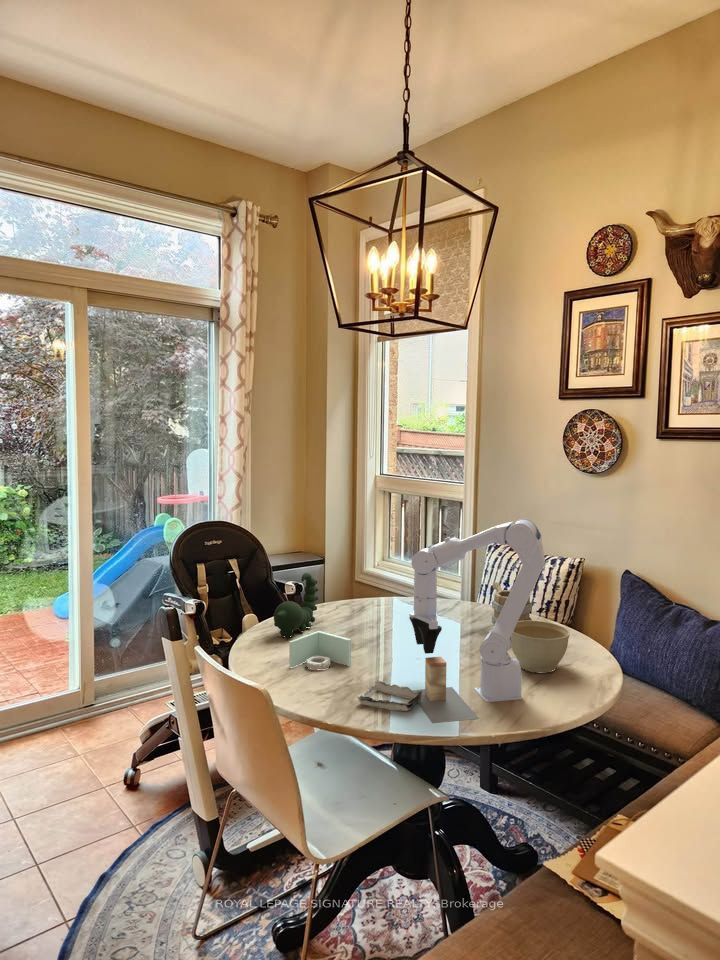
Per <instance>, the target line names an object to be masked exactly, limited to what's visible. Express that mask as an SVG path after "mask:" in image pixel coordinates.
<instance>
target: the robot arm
mask: <svg viewBox="0 0 720 960" xmlns="http://www.w3.org/2000/svg"><path fill="white" fill-rule="evenodd" d="M492 544H498V545H501V546H506V545H509V547H510V548H511V549H512V550H513V551H514V552H515V553H516V554H517V555H518V558H519V560H520V562H521V564H522V565H521V567H520V569H519V571H518V573H517V576H516V578H515V581H514V583H513V585H512V587H511V589H510V590H511V591H510V593H509V596H508V598H507V600H506V602H505V604H504V606H503V608H502V611H501V613H500V615H499V617H498V619H497V621H496V623H495V625H494V624H493V628H492V629H490V630H489V631H488V633H487V634H486V636H485V638H484V640H483V641H482V642H481V643H480V645H479V655H480V673H479V674H480V681H479V683H480V685H479V686H480V687H474V688H473V690H475V692H476V693H477V694H478V695H479V696H480V697H481V699H483V700H484V702H486V703H490V702H491V703H493V702H502V701H503V702H505V701H514V700H515V701H516V700H523V696H522V668H521V667H520V664H519V661H518V659H517V658H516V657H515V658H514V657H513V658H512V657H511V656H510V654H509V652H508V651H509V650H510V648H512V647H511V644H512V639H511V637H512V633H513V631H514V629H515V626H516V624H517V622H518V620H519V618H520V616H521V614H522V611H523V609H524V607H525V605H526V603H527V601H528V599H529V597H530V598H531V594H532V592H533V590H534V588H535V586H536V584H537V581H538V579H539V578H540V574H541V573H542V570H543V569H544V567H545V565H546V564H545V563H546V558H545V552H544V547H543V541H542V533H541V532H540V529H539V528H538V526H537V525H536V523H535V522H534V521H533V520H531V519H529V518H520V519H518V520H516V521H515V522H514V521H509V522H504V523H501V524H498V525H494V526H493V527H490V528H487V529H486V530H483V531H481V532H479V533H477V534H474V535H473V534H472V535H471V536H468V537H467V538H464V539H461V538H457V537H450V536H448V537H446V538H444V541H442V542H438V543H437V544H433V543H432V544H429V545H427V547H426V548H425V547H424V548H423V549H420V550H419V551H418V552H415V554H414V555H413V556H412V558H411V566H412V568H413V571H414V578H413V612H409V614H408V615H409V621H410V623H411V625H412V628H413V632H414V637H415V641H416V645H422V646H423V651H424V654H434V651H435V647H436V643H437V639H438V637H439V635H440V634H441V631H442V630H443V629H442V628H443V627H442V626H441V625H439V621H438V613H437V600H438V599H437V597H438V595H437V590H438V589H437V584H438V583H437V581H438V579H437V568H443V567H445V566H448V565H451V564H454V563H456V562H459V561H462V560H463V559H464V558H465V556H466V553H468V552H470V551H473V550H476V549H479V548H483V547H485V546H488V545H492Z"/></svg>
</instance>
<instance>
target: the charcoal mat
mask: <svg viewBox="0 0 720 960" xmlns="http://www.w3.org/2000/svg"><path fill="white" fill-rule="evenodd" d="M411 691H412V692H413V693H417V691H419V692H421V691H422V693H421V696H422V697H421V701H420V702H418V703H417V704H418V705H419V706H420V707H421V709H422V710H423V712H424V713H425V714H426V716H427V717H428V720H429V721H430V722H431V724H437V723H438V724H439V723H447V722H448V723H449V722H459V721H469V720H472V721H473V720H479V719H480V718H479V716H477V714H476V713H475V712H474V711H473V710H472V709H471V707H470V706H469V705H468V704H467V703H466V702H465V700H464V699H463V698H462V697H461V696H460V695H459V693H458V692H457V691H456V690H455V689H454V687H452V686H446V700H437V701H430V700H429V699H428V698H427V696H426V695H425V688H423V689H411Z"/></svg>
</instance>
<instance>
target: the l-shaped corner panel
mask: <svg viewBox="0 0 720 960" xmlns="http://www.w3.org/2000/svg"><path fill="white" fill-rule="evenodd" d="M288 645H289V649H288V650H289V668H290V667H294V666H296V665H299V664H301V663H303V662H305V661H306V663H305V667H306V666H307V667H308V669H310V668H311V670H317V669H326V668H328V667H329V666H331V662H332V661H335V662H338V663H337V664H339V663H341V664H340V665H342V664H344V665H343V666H345V665H347V666H346V667H350V665H351V666H352V639H351V638H349V637H344V636H340V635H336V634H332V633H328V632H324V631H321V630H317V631H315V632H312V633H309V634H305V635H304V636H300V637H299V638H295V639H293V640H290V641H289V643H288ZM330 660H331V661H330ZM335 662H334V663H335ZM299 666H300V665H299ZM308 669H307V670H308ZM311 670H310V671H311ZM326 670H327V669H326Z"/></svg>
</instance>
